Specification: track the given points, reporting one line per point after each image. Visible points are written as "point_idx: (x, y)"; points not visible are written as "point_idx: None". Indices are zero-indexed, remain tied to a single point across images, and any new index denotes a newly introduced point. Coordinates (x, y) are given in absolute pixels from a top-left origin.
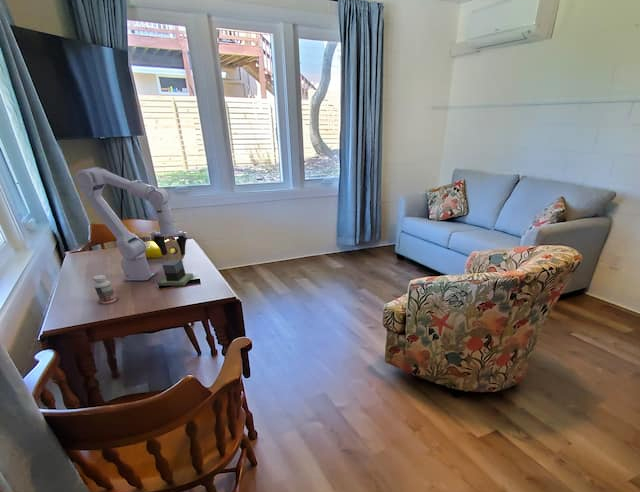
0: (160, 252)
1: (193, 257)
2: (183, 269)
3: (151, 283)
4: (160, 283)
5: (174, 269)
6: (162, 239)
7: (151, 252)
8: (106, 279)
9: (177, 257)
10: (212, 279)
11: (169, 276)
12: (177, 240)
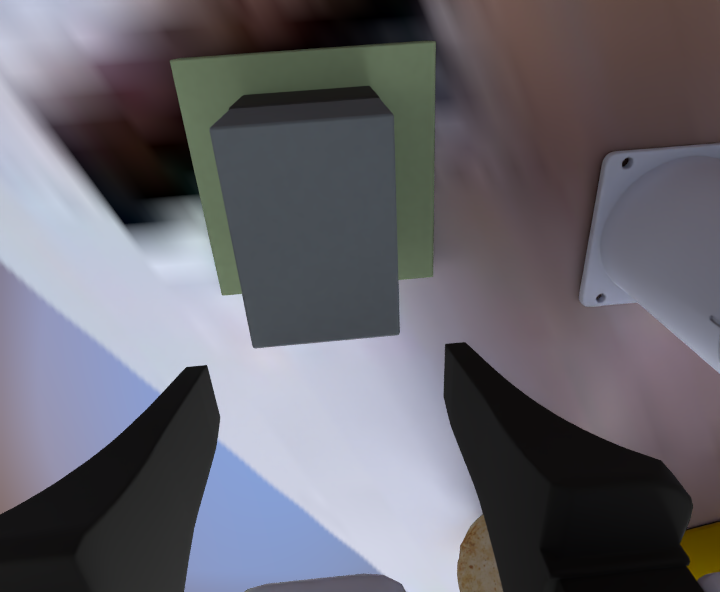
0: None
1: (422, 567)
2: None
3: (538, 93)
4: (424, 42)
5: (235, 115)
6: (518, 577)
7: (706, 567)
8: None
9: None
10: (2, 235)
11: (329, 95)
12: (51, 535)
